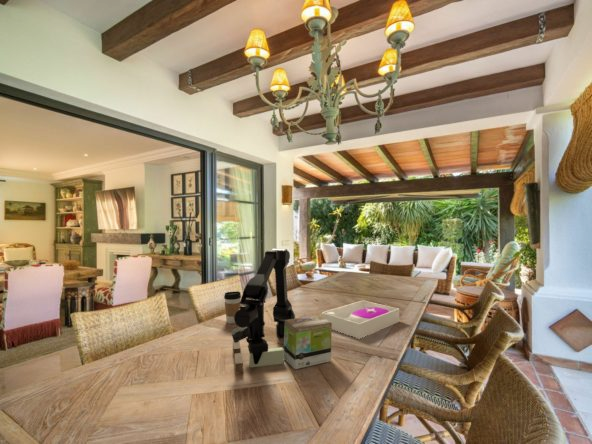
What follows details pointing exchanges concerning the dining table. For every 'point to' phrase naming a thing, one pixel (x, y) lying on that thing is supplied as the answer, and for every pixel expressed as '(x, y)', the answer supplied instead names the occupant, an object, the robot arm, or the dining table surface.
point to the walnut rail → (237, 358)
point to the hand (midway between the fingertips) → (255, 362)
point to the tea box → (307, 341)
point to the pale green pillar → (269, 357)
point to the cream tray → (361, 318)
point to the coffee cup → (232, 305)
